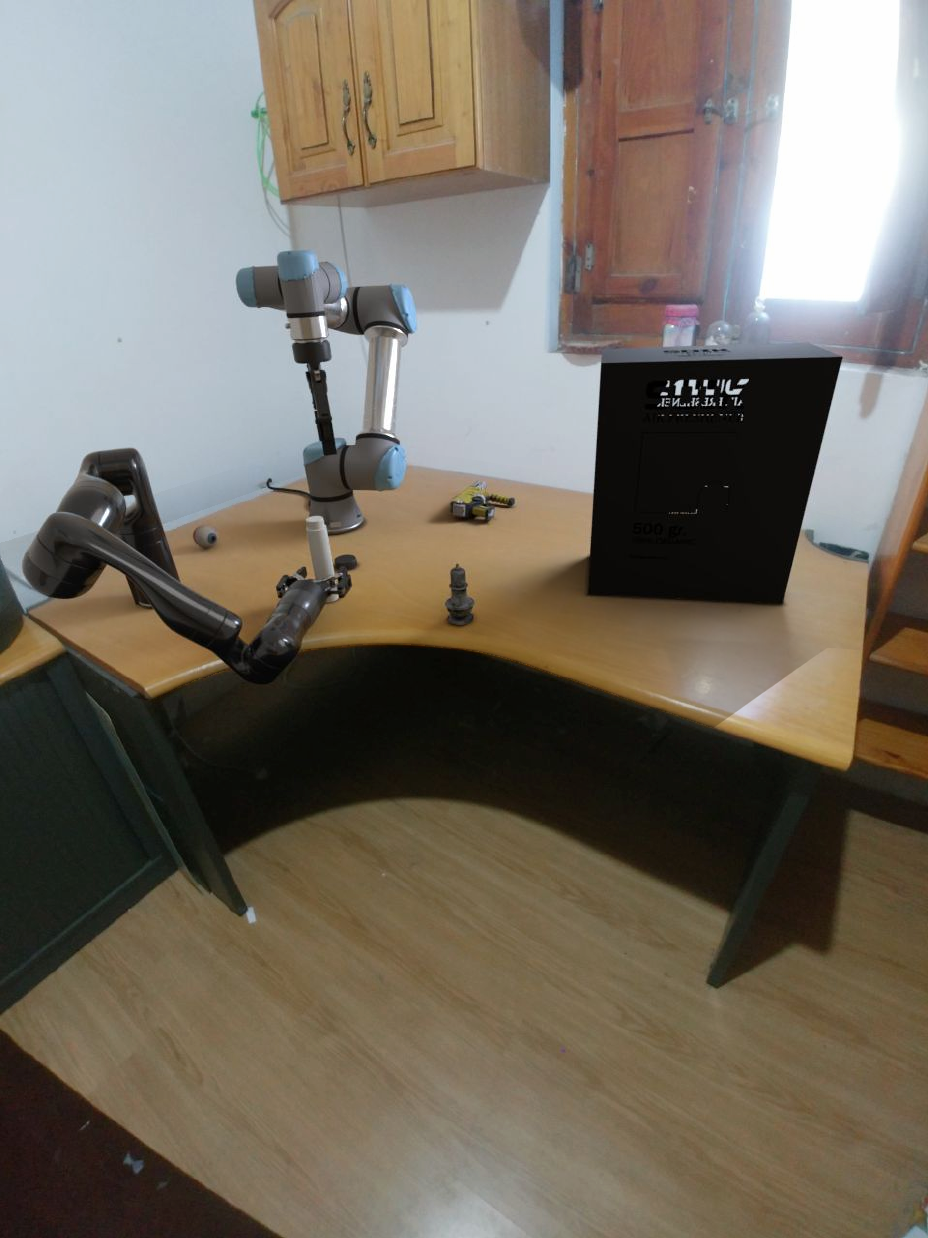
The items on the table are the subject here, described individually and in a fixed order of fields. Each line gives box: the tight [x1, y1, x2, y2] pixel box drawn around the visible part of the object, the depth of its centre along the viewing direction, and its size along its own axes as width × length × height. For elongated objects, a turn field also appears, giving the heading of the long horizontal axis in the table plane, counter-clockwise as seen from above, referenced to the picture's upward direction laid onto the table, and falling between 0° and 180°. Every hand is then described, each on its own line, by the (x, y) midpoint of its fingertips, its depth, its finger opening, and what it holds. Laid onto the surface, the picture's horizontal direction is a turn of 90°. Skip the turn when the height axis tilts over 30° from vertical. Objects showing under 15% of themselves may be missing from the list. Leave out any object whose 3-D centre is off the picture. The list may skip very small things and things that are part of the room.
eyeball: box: [192, 524, 219, 549], centre depth 158 cm, size 6×6×6 cm
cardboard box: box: [587, 342, 844, 605], centre depth 120 cm, size 38×20×45 cm, turn 78°
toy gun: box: [449, 480, 516, 522], centre depth 174 cm, size 5×24×15 cm
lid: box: [334, 553, 358, 571], centre depth 145 cm, size 5×5×2 cm
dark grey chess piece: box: [444, 563, 475, 626], centre depth 117 cm, size 6×6×12 cm
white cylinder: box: [305, 516, 339, 604], centre depth 126 cm, size 4×4×18 cm
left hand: (324, 570), depth 128 cm, fingers open, 8 cm apart
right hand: (327, 447), depth 131 cm, fingers open, 13 cm apart
